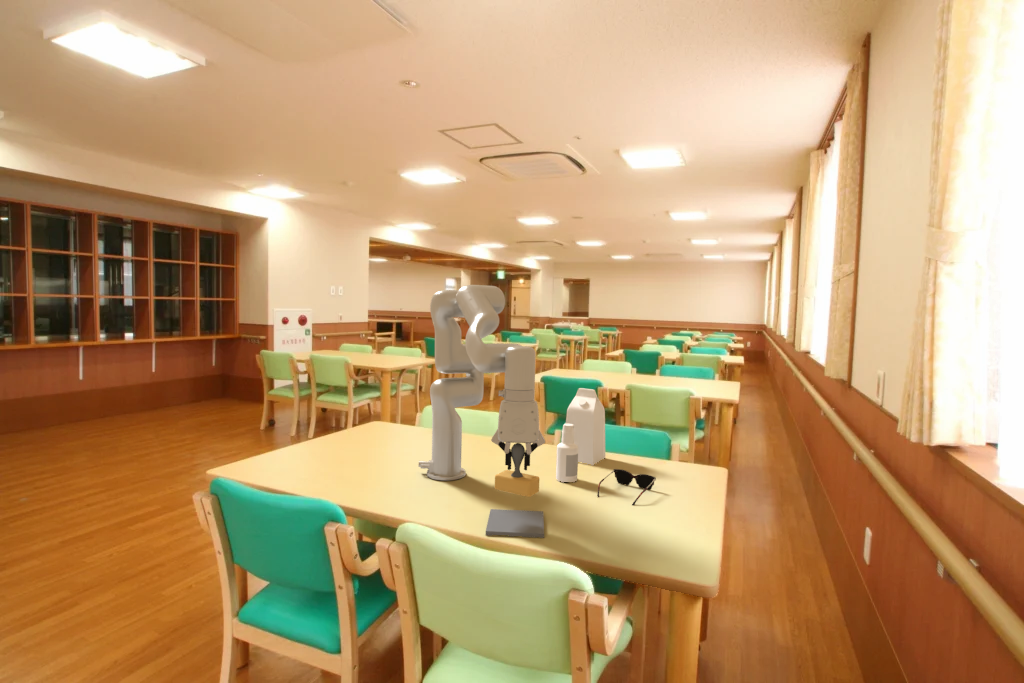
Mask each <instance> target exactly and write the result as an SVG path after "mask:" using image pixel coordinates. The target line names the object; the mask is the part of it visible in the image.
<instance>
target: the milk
mask: <svg viewBox="0 0 1024 683" xmlns="http://www.w3.org/2000/svg"><path fill="white" fill-rule="evenodd" d="M605 411H606V410H605V407H604V405H603V403H602V402H601V400H600V398H599V397H598V395H597V392H596V389H592V388H584V387H579V388H577V391H576V394H575V396H574V397H573V399H572V400H571V402H570V403H569V405H568V407H567V409H566V418H565V424H567V423H568V424H573V425H574V443H575V444H576V445H577V446H578V462H582V463H587V464H586V465H588V464H591V465H590V466H595V465H596V464H598V463H600V462H601V461H600V460H602V459H603V460H605V459H606V412H605ZM604 458H605V459H604ZM603 460H602V461H603ZM599 461H600V462H599ZM597 462H598V463H597ZM582 463H581V464H582ZM595 463H596V464H595ZM594 464H595V465H594Z"/></svg>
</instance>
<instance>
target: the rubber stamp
mask: <svg viewBox="0 0 1024 683" xmlns="http://www.w3.org/2000/svg"><path fill="white" fill-rule="evenodd" d="M510 449H511V460H512V461H513V465H514V470H511V469H510V470H508V469H505V470H503V471H501V472H499V473H497V474H495V475H494V490H496V491H501V492H505V493H510V494H513V495H517V496H522V497H526V498H531V497H533V496H534V495H536V494H537V493H539V492H540V477H539V476H537V475H534V474H527V473H523V472H521V470H520V469H521V465H522V463H523V461H524V455H525V450H526V448H525V447H524V445H523V443H514V444H513V445H512V447H510Z"/></svg>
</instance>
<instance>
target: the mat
mask: <svg viewBox="0 0 1024 683" xmlns="http://www.w3.org/2000/svg"><path fill="white" fill-rule="evenodd" d="M489 510H490V511H489V514H488V519H487V524H486V527H485V536H492V535H509V536H508V537H514V536H522V537H521V538H537V537H540V539H541V538H542V539H543V538H545V525H544V524H545V523H544V522H545V521H544V511H543V510H542V511H541V510H525V509H524V510H523V509H521V510H520V509H519V510H517V509H501V508H500V509H499V508H498V509H496V508H490V509H489Z"/></svg>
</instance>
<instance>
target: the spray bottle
mask: <svg viewBox="0 0 1024 683" xmlns="http://www.w3.org/2000/svg"><path fill="white" fill-rule="evenodd" d="M578 464H579V463H578V446H577V445H576V444H575V443H574V425H573V424H568V423H567V424H566V423H564V424H563V425H562V431H561V442H559V443H558V444H557V446H556V468H555V479H557V481H558V482H560V481H561V482H560V483H564V482H573V483H576V482H577V480H578V470H579V468H578V467H579V465H578ZM575 481H576V482H575Z"/></svg>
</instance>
